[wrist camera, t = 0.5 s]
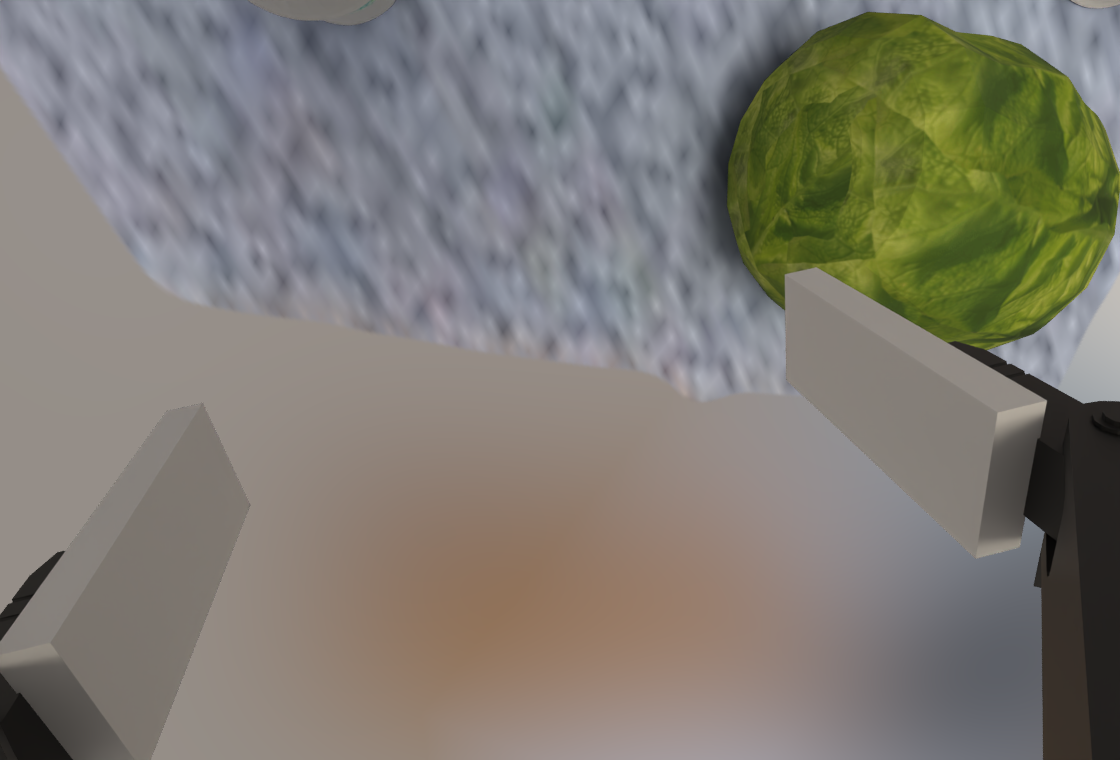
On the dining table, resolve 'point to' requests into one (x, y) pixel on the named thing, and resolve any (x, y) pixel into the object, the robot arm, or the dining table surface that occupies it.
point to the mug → (1097, 3)
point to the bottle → (327, 9)
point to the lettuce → (925, 177)
